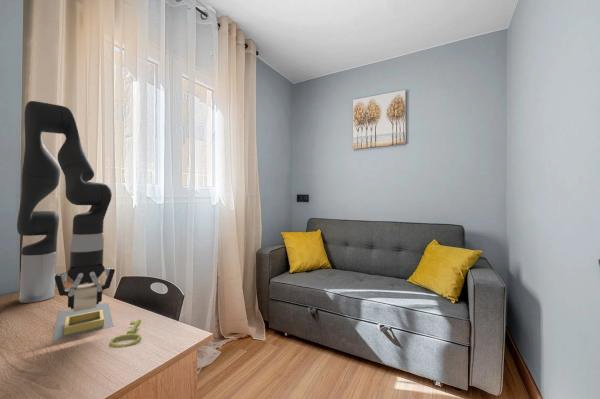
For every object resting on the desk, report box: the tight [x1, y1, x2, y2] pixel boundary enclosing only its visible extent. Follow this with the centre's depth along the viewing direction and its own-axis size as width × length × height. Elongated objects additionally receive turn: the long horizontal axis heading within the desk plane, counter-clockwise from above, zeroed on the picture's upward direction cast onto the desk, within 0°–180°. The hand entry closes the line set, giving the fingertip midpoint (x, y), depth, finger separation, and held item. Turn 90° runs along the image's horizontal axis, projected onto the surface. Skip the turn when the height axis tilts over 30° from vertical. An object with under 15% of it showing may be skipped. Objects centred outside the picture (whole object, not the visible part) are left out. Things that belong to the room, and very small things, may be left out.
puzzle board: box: [51, 302, 114, 342], centre depth 78 cm, size 22×13×3 cm, turn 41°
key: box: [109, 319, 142, 348], centre depth 71 cm, size 7×12×2 cm, turn 33°
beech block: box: [74, 283, 97, 312], centre depth 75 cm, size 5×5×6 cm
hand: (85, 305), depth 75 cm, fingers closed on beech block, 5 cm apart
